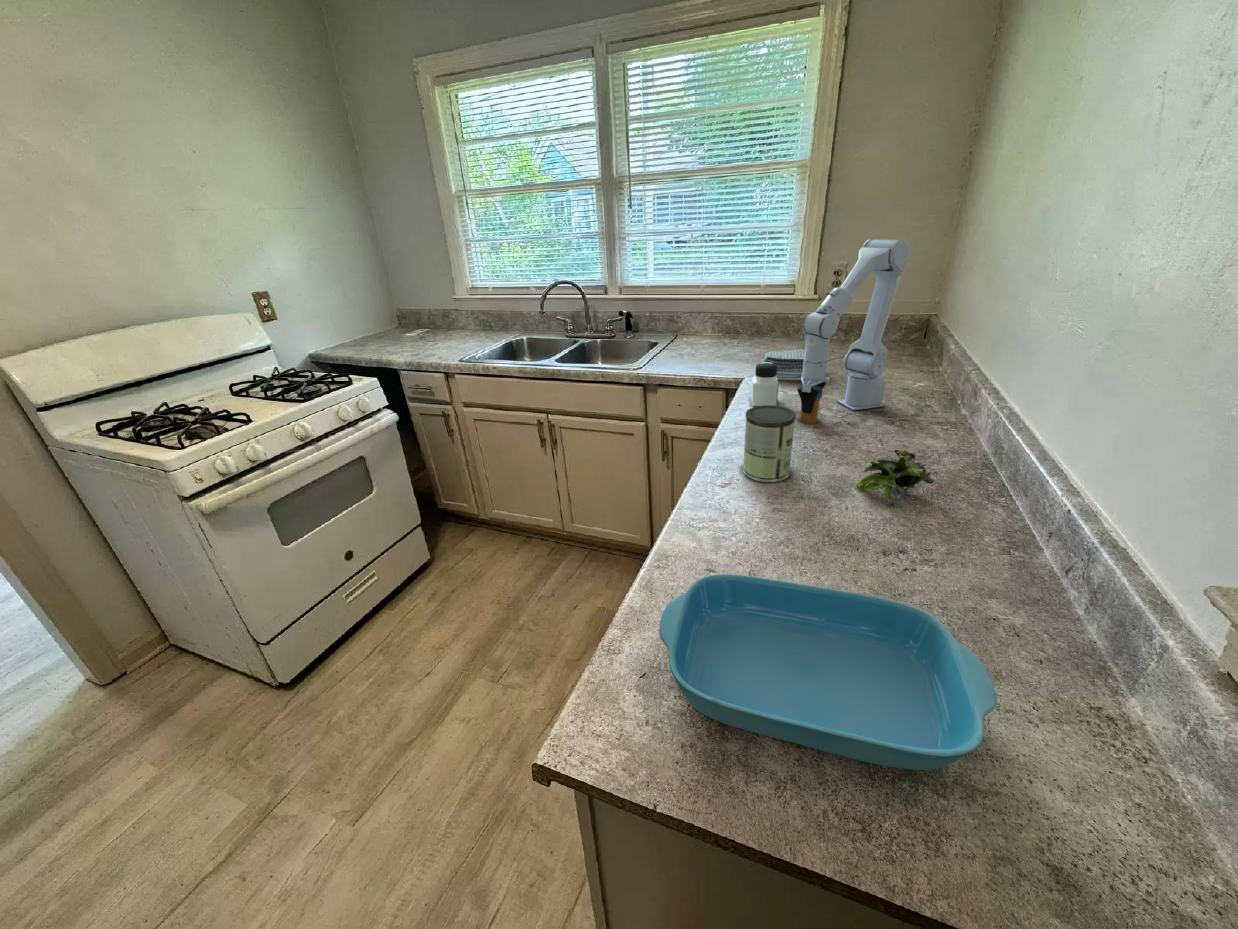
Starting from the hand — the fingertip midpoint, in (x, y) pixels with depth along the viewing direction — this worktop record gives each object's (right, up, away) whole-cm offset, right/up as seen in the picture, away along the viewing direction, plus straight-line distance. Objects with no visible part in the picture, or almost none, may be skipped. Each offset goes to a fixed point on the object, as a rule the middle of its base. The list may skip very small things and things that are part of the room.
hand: (809, 409), depth 134 cm
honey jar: (0, -3, +1) cm, 3 cm away
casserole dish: (-28, -43, -72) cm, 89 cm away
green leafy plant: (+3, -22, -35) cm, 41 cm away
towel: (+7, +17, +39) cm, 43 cm away
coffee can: (-19, -17, -23) cm, 34 cm away
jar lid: (0, +5, -3) cm, 6 cm away
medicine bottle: (-8, +4, +16) cm, 18 cm away
